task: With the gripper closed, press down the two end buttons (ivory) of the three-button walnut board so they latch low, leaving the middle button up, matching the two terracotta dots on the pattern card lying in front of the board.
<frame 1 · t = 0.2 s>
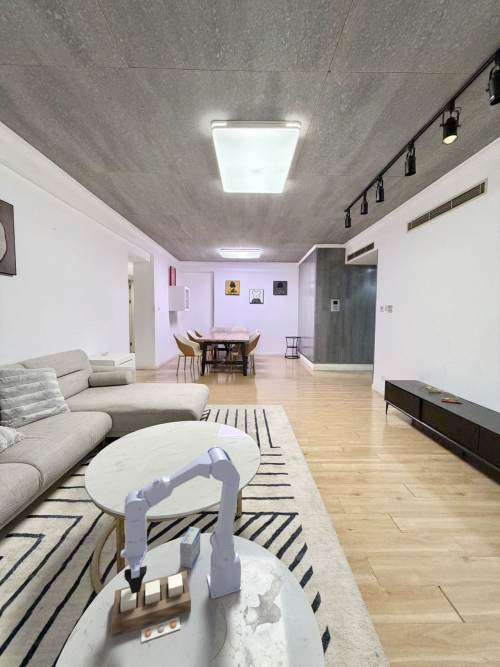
hand: (136, 579, 82), 10 cm above the table, fingers open, 7 cm apart
board: (152, 605, 84), on the table
medicine box: (190, 558, 101), on the table
button middle: (152, 592, 84), point 4 cm above the table, slide at 0.0 cm
button 1: (128, 599, 81), point 4 cm above the table, slide at 0.0 cm
button 2: (175, 585, 86), point 4 cm above the table, slide at 0.0 cm
pattern card: (160, 630, 78), on the table
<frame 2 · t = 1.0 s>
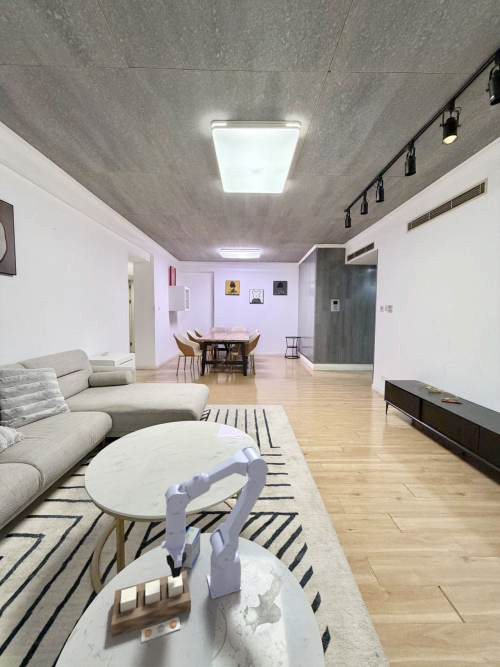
hand: (175, 569, 86), 9 cm above the table, fingers open, 4 cm apart
nothing on the table moved.
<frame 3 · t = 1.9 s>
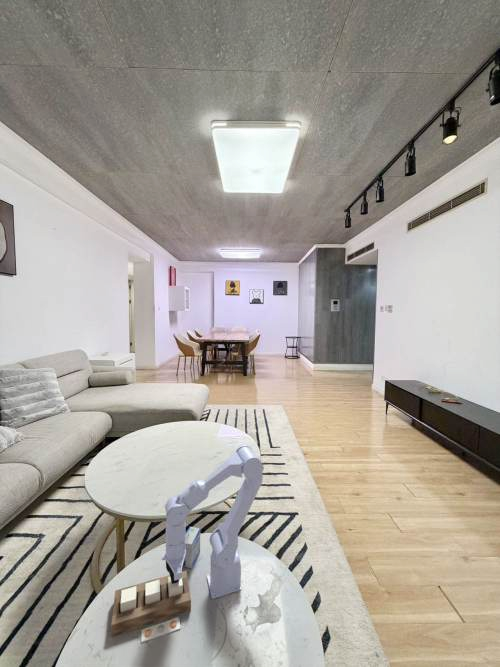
hand: (175, 581, 86), 6 cm above the table, fingers closed, pressing on button 2
button 2: (175, 585, 86), point 4 cm above the table, slide at 0.0 cm, touching gripper
everything else where it was.
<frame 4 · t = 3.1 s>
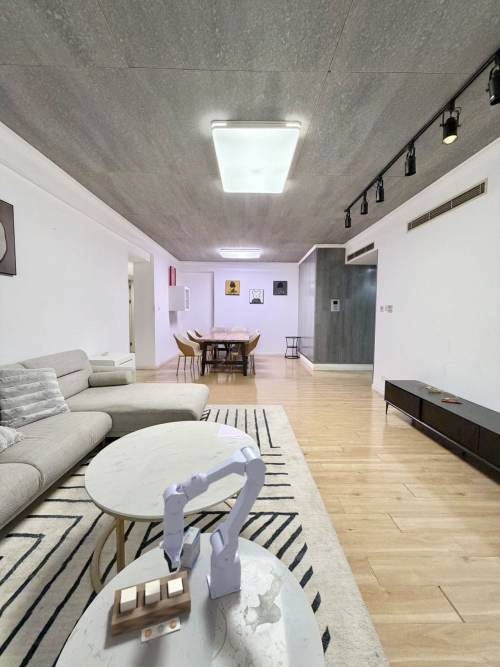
hand: (173, 570, 85), 9 cm above the table, fingers closed
button 2: (175, 590, 86), point 3 cm above the table, slide at 1.4 cm
everything else where it was.
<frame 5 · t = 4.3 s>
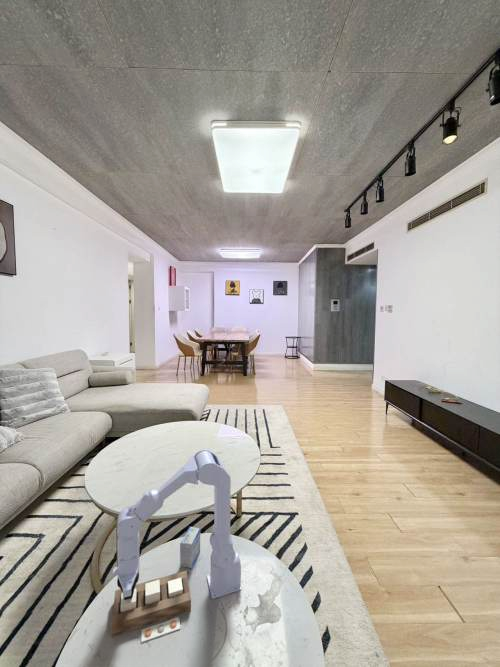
hand: (128, 596, 81), 5 cm above the table, fingers closed, pressing on button 1
button 1: (128, 601, 81), point 4 cm above the table, slide at 0.7 cm, touching gripper
everything else where it was.
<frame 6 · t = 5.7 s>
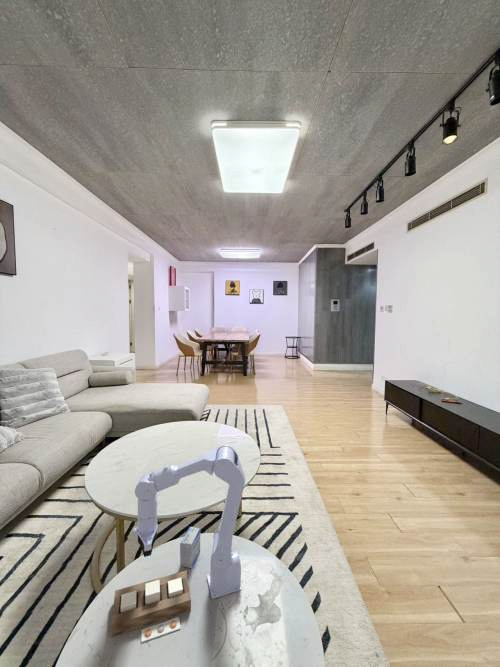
hand: (147, 554, 90), 10 cm above the table, fingers closed
button 1: (128, 604, 81), point 3 cm above the table, slide at 1.4 cm
everything else where it was.
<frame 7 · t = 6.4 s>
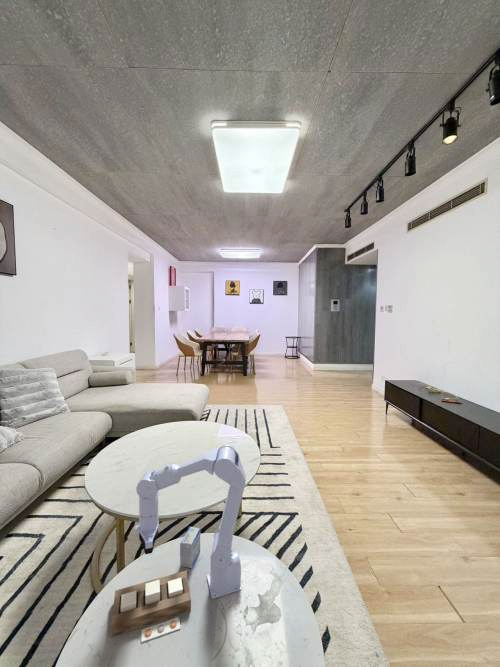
hand: (148, 552, 90), 10 cm above the table, fingers closed
nothing on the table moved.
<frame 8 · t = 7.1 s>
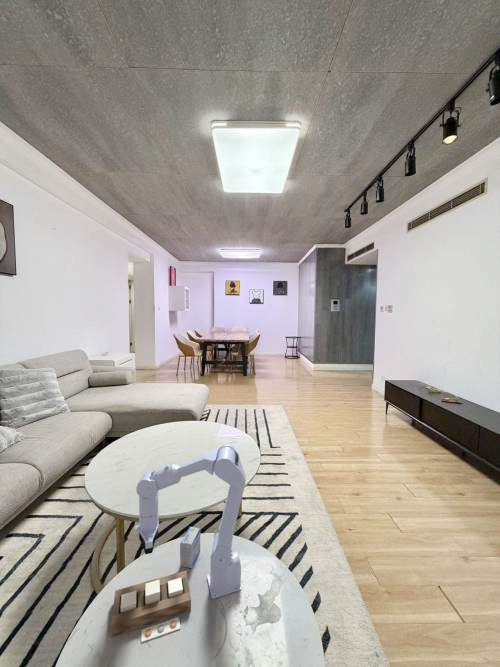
hand: (148, 552, 90), 10 cm above the table, fingers closed
nothing on the table moved.
at the end: button 2 slide at 1.4 cm; button 1 slide at 1.4 cm; button middle slide at 0.0 cm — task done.
